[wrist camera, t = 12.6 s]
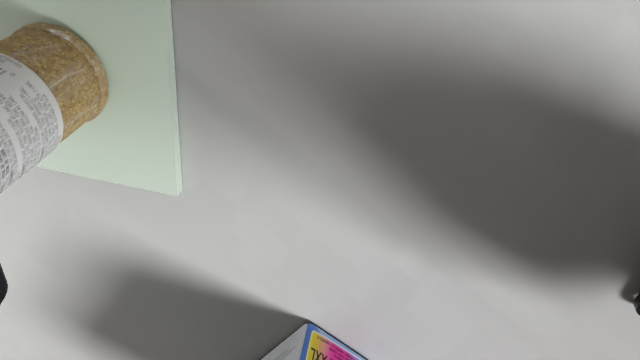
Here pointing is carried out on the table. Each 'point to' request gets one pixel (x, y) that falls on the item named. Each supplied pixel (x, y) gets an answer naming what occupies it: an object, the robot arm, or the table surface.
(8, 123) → the sprinkles bottle
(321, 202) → the table surface
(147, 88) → the pad
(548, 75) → the table surface
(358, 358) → the ink cartridge box
